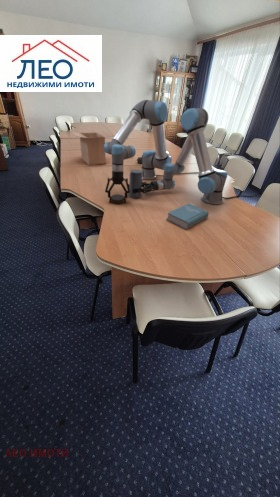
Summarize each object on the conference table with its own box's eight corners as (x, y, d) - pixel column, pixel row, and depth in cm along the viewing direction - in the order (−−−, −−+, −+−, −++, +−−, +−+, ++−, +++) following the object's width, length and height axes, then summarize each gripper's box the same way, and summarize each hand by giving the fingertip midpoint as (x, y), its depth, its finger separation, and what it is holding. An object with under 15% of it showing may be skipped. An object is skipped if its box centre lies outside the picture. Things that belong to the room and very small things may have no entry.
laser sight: (156, 166, 235) (157, 156, 229) (136, 164, 237) (136, 154, 231) (157, 164, 242) (158, 154, 236) (138, 161, 245) (138, 152, 239)
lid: (127, 198, 160) (127, 196, 159) (120, 203, 153) (120, 201, 152) (115, 195, 163) (115, 193, 162) (107, 200, 156) (107, 197, 155)
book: (187, 209, 155) (188, 203, 152) (207, 218, 146) (209, 211, 143) (166, 219, 142) (167, 212, 139) (187, 230, 133) (188, 222, 130)
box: (116, 165, 229) (116, 136, 213) (83, 168, 214) (80, 137, 198) (102, 154, 259) (101, 128, 243) (71, 156, 244) (68, 129, 228)
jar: (129, 198, 166) (130, 172, 154) (128, 193, 173) (129, 168, 162) (141, 198, 166) (143, 173, 155) (140, 193, 174) (142, 169, 163)
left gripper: (100, 171, 141) (101, 203, 155) (135, 172, 144) (133, 204, 157) (100, 168, 147) (101, 199, 161) (134, 169, 150) (132, 199, 163)
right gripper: (162, 195, 167) (135, 199, 159) (149, 185, 183) (124, 188, 175) (163, 186, 163) (136, 189, 154) (150, 176, 178) (124, 178, 170)
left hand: (117, 201), depth 159 cm, fingers closed on lid, 10 cm apart
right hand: (129, 188), depth 164 cm, fingers closed on jar, 9 cm apart
